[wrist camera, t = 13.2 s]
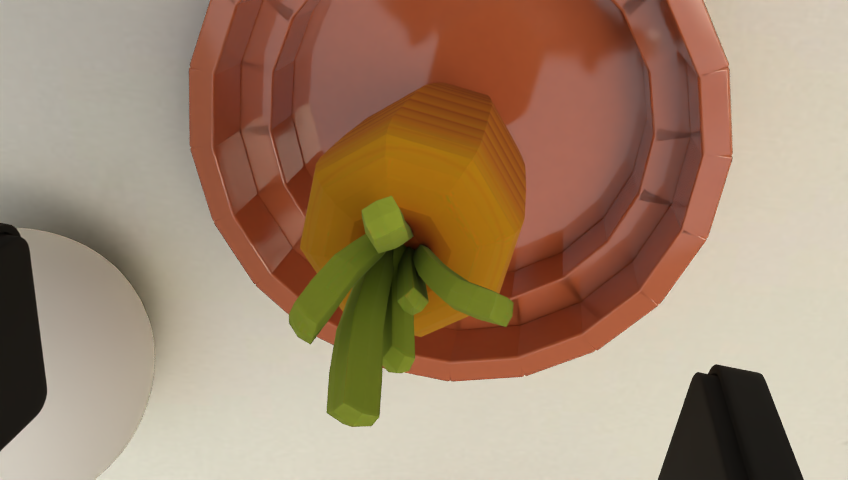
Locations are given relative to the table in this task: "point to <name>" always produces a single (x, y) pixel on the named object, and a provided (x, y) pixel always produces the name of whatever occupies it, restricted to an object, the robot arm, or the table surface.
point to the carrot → (408, 236)
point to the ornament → (82, 364)
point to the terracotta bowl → (526, 122)
